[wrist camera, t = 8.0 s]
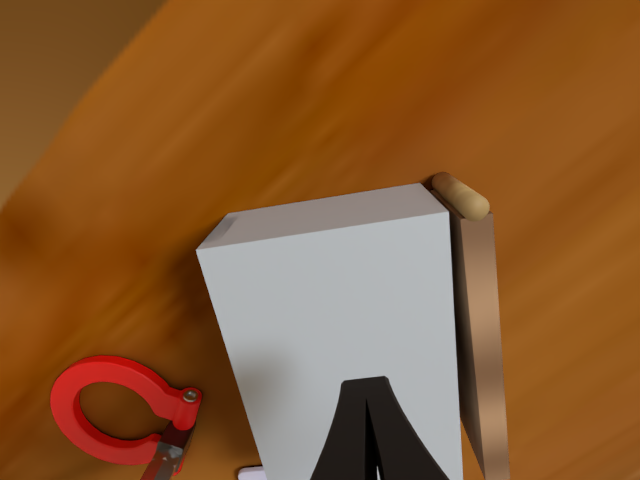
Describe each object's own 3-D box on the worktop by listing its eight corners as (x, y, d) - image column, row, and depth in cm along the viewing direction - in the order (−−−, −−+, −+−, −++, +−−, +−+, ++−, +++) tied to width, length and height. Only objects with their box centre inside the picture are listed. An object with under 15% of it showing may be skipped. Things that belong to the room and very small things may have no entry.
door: (428, 174, 18) (458, 199, 14) (476, 164, 18) (522, 186, 14) (457, 410, 24) (486, 482, 19) (494, 404, 23) (532, 476, 19)
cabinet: (437, 411, 24) (463, 487, 19) (285, 427, 25) (274, 503, 20) (419, 182, 19) (448, 211, 14) (227, 213, 20) (195, 250, 15)
